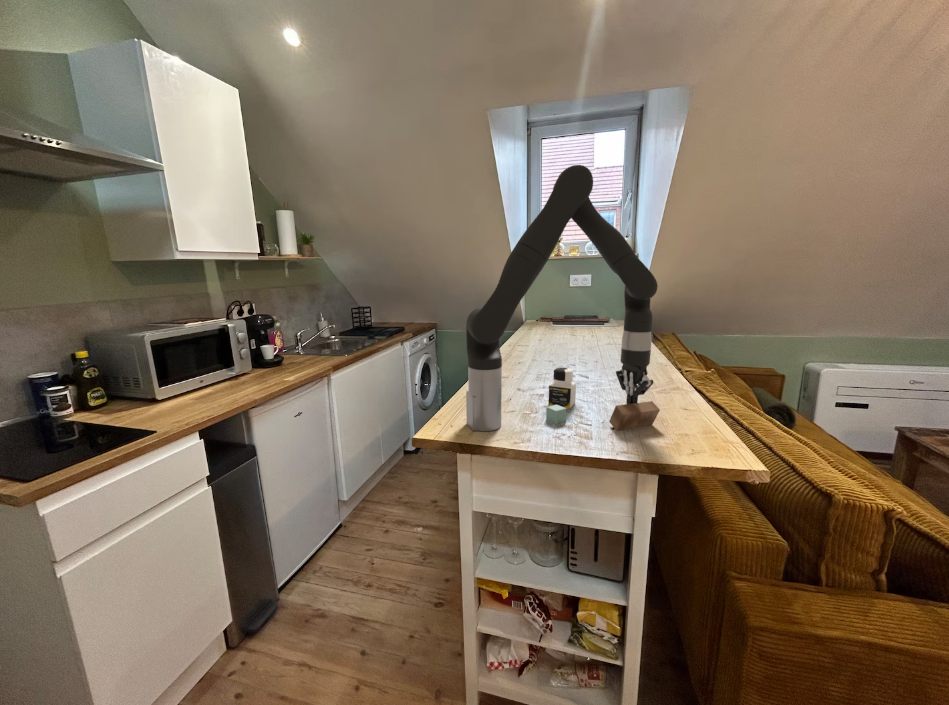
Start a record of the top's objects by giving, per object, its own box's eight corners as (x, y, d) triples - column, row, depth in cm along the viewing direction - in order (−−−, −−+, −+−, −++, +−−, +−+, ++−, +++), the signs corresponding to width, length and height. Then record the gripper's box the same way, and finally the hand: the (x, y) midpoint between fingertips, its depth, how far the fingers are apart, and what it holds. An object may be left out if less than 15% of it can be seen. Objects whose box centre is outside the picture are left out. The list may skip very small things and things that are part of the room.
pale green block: (555, 424, 115) (556, 410, 114) (546, 419, 118) (546, 407, 117) (565, 421, 117) (566, 408, 116) (556, 417, 120) (556, 404, 119)
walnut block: (623, 414, 107) (660, 409, 110) (615, 405, 109) (652, 401, 113) (615, 430, 110) (652, 425, 114) (609, 421, 113) (644, 416, 116)
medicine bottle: (548, 405, 130) (549, 369, 127) (554, 399, 136) (555, 365, 134) (569, 409, 127) (571, 372, 124) (575, 402, 133) (577, 367, 130)
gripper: (665, 350, 105) (659, 413, 108) (630, 342, 117) (626, 398, 121) (641, 352, 103) (636, 416, 106) (609, 343, 115) (605, 401, 118)
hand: (631, 407), depth 113 cm, fingers closed
